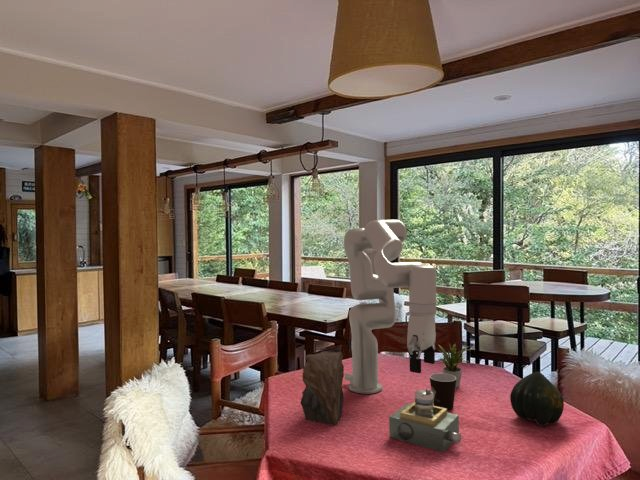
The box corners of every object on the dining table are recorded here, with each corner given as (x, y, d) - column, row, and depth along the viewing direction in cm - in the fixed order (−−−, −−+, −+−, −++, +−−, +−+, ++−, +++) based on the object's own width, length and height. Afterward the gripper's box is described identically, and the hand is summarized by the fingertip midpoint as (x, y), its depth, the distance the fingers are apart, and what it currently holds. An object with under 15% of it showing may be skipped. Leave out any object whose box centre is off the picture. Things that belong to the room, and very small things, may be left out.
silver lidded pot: (411, 416, 131) (411, 389, 131) (419, 410, 135) (419, 384, 135) (429, 420, 128) (429, 393, 128) (436, 414, 132) (436, 388, 132)
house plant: (479, 393, 165) (479, 347, 165) (441, 393, 165) (440, 348, 165) (467, 379, 179) (467, 338, 179) (432, 380, 180) (431, 338, 179)
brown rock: (299, 420, 145) (298, 357, 144) (316, 405, 156) (315, 347, 156) (336, 426, 140) (335, 361, 139) (351, 410, 151) (350, 350, 151)
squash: (526, 415, 132) (553, 372, 135) (493, 399, 146) (518, 360, 149) (557, 443, 135) (584, 400, 137) (522, 424, 149) (547, 386, 152)
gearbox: (388, 438, 131) (388, 412, 131) (407, 422, 141) (407, 398, 141) (453, 456, 120) (453, 428, 120) (469, 438, 130) (469, 412, 130)
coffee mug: (457, 413, 148) (457, 382, 148) (430, 411, 150) (430, 380, 149) (454, 399, 159) (454, 371, 159) (429, 398, 161) (428, 370, 161)
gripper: (422, 302, 140) (422, 357, 141) (396, 312, 126) (397, 373, 127) (446, 304, 136) (446, 361, 137) (422, 315, 122) (422, 378, 123)
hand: (422, 367), depth 132 cm, fingers open, 9 cm apart
